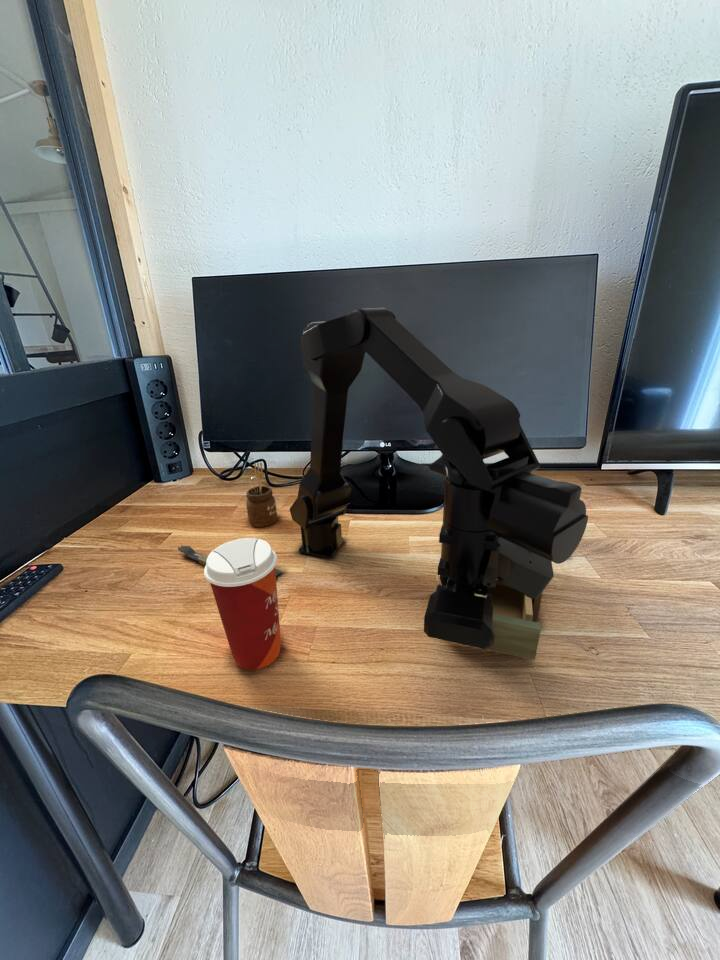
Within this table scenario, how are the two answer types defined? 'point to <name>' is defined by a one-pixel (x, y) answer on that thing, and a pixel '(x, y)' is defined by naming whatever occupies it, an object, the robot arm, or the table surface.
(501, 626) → the drawer
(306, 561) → the table surface
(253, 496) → the utensil holder
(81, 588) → the table surface
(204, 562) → the tactical tomahawk
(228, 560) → the coffee cup
